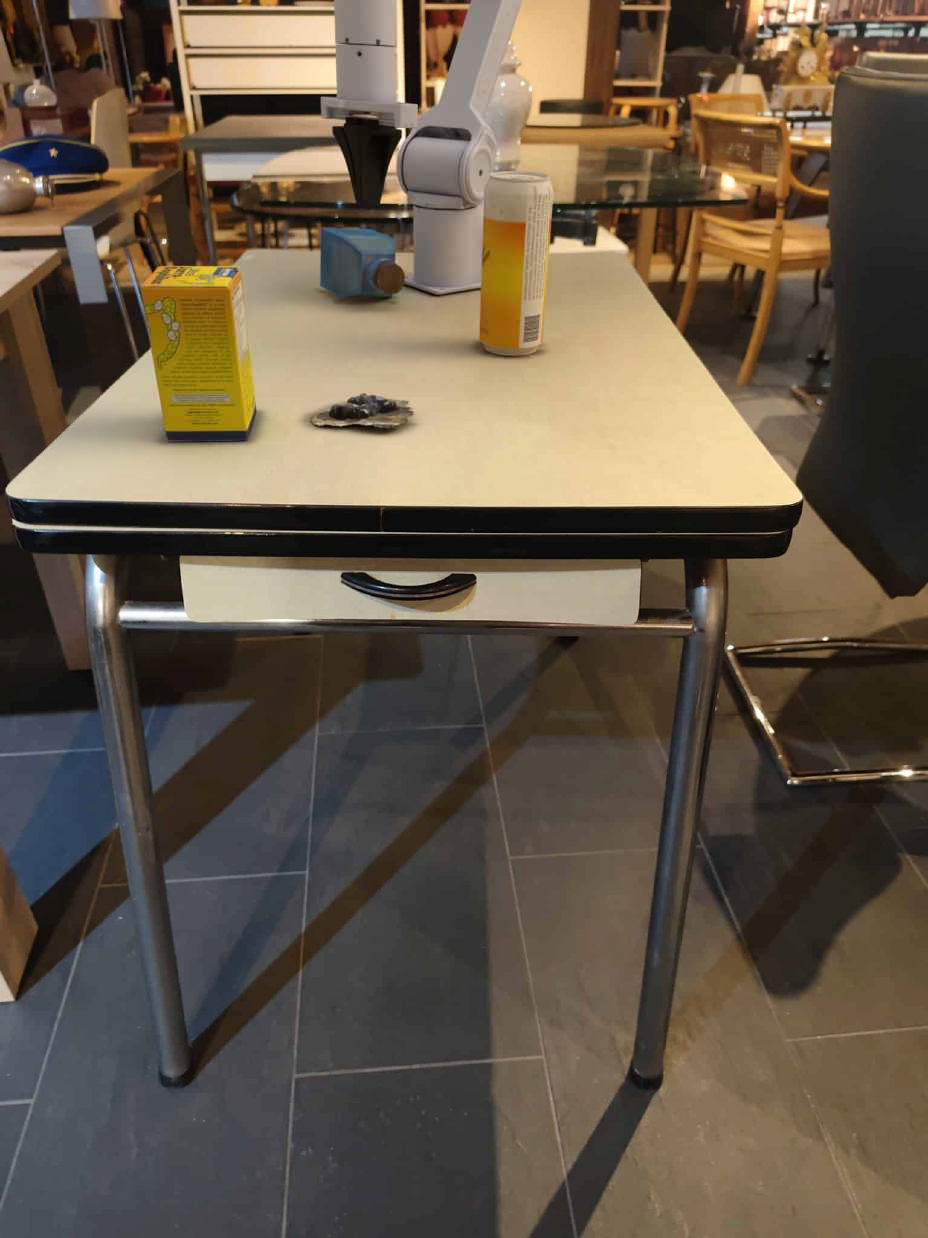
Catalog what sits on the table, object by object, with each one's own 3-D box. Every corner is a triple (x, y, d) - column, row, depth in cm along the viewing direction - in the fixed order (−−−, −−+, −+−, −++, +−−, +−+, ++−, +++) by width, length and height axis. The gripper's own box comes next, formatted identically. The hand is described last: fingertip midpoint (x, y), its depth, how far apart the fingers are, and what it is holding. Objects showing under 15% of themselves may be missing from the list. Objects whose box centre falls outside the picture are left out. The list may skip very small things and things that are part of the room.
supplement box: (179, 413, 69) (155, 264, 63) (257, 412, 69) (241, 264, 63) (164, 442, 64) (137, 284, 58) (249, 441, 64) (230, 284, 58)
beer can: (508, 335, 89) (517, 168, 81) (555, 348, 85) (568, 176, 77) (465, 346, 85) (470, 173, 77) (512, 361, 82) (521, 181, 73)
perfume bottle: (368, 285, 105) (415, 308, 97) (320, 285, 102) (363, 309, 94) (371, 229, 102) (419, 248, 93) (321, 227, 99) (366, 247, 91)
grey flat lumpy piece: (419, 433, 66) (419, 408, 65) (311, 438, 65) (309, 413, 64) (407, 402, 72) (407, 379, 71) (307, 406, 71) (306, 383, 70)
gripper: (291, 42, 86) (298, 197, 93) (371, 43, 76) (372, 215, 83) (353, 47, 89) (356, 195, 97) (437, 48, 80) (433, 212, 87)
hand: (368, 204), depth 90 cm, fingers closed
